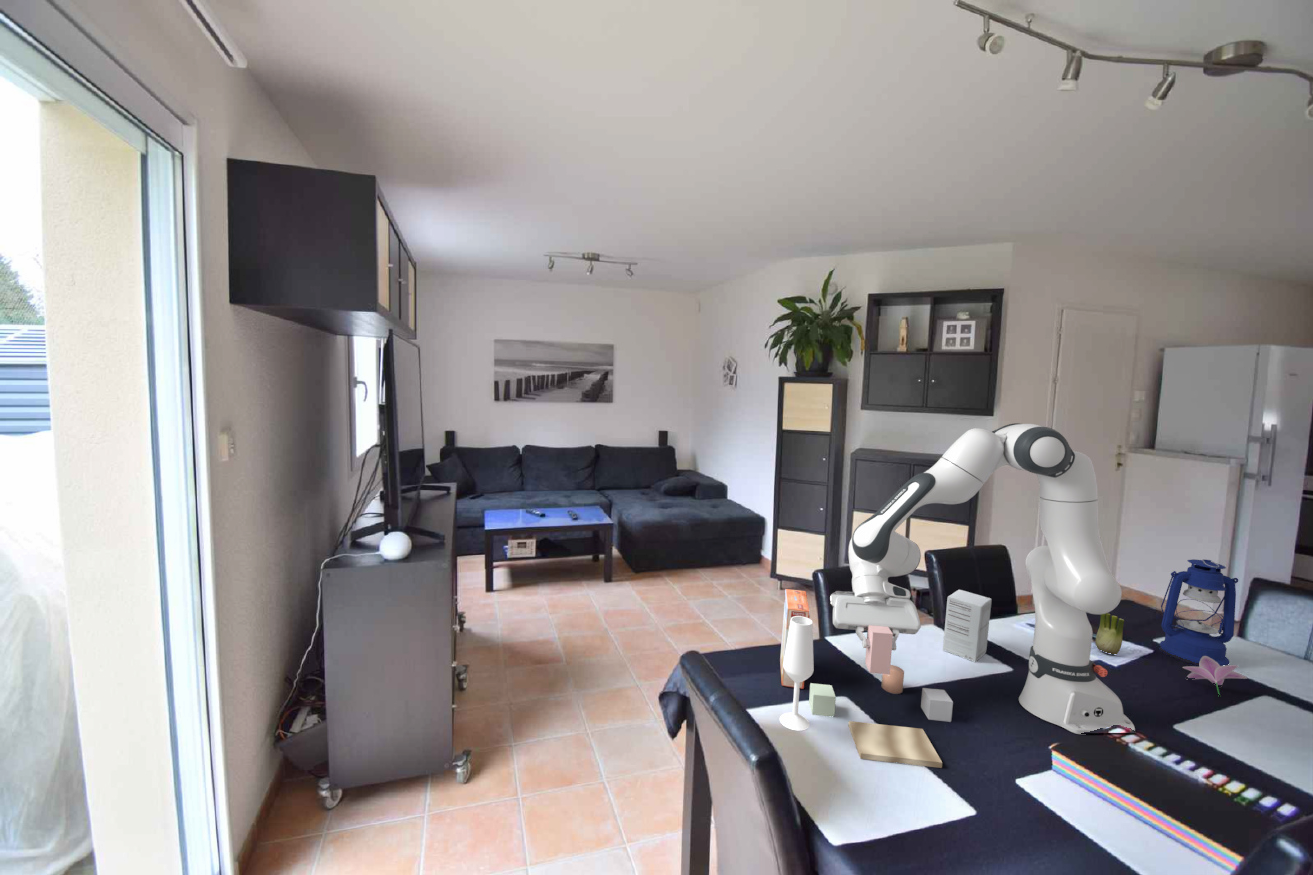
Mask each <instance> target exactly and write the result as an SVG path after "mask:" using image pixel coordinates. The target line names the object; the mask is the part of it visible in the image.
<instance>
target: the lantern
mask: <svg viewBox="0 0 1313 875" xmlns="http://www.w3.org/2000/svg"><path fill="white" fill-rule="evenodd" d="M1187 562H1189V564H1191V566H1189V567H1187V570H1186V571H1185V570H1183V571H1179V572H1177V571H1176V570H1173V571H1172V572H1171V573H1170V576H1171V577H1170V580H1169V583H1168V586H1167V589H1166V592H1165V595H1164V596H1163V600H1162V603H1161V605H1160V607H1161V612H1162V616H1163V617H1162V621H1161V624H1160V626H1161V629H1162V631H1163V632H1164V633H1165V636H1164V640H1161V641H1160V642H1159V646H1161V648H1162V649H1163V650H1165V651H1166V652H1168V653H1170V654H1172V655H1176V656H1178V657H1181V658H1183V659H1187V660H1190V661H1192V662H1195V663H1199V662H1200V659H1201V658H1202V657H1203V656H1208V657H1210V658H1211V659H1213V660H1215V661H1216V662H1217V663H1218V664H1219V665H1220V666H1223V665H1228V664H1229V663H1230V662H1231V661H1230V659H1229V658H1228V657H1227V655H1226V654H1227V647H1226V646H1227V645H1226V643H1228V642H1230V641H1231V640H1232V639H1233V637H1234V635H1235V633H1234V632H1235V620H1236V619H1235V618H1236V616H1235V614H1236V602H1237V601H1236V599H1237V598H1236V597H1237V591H1236V584H1238V583H1239V579H1238V578H1237V577H1233V578H1231V577H1229V576H1227V575H1224V574H1223V573H1222V570H1225V569H1227V567H1226V566H1225V565H1222V564H1220V563H1217V562H1215V561H1213V560H1210V559H1202V560H1201V559H1187ZM1183 583H1184V584H1186V585H1187V589H1184V590H1183V592H1182V595H1183V596H1184V597H1186V598H1183V599H1180V600H1179V598H1180V594H1181V589H1182V587H1183V586H1182V585H1183ZM1219 592H1224V594H1223V597H1222V599H1221V597H1220V596H1218V595H1219ZM1167 594H1168V595H1167ZM1166 598H1167V599H1166ZM1188 599H1190V600H1193V601H1197V602H1200V603H1202V604H1204V605H1206V606H1207V607H1209V609H1211V610H1212V611H1210V610H1208V612H1210V613H1213V614H1211V615H1210V616H1208V617H1207V618H1205V619H1190V620H1187V619H1180V617H1179V615H1178V614H1180V613H1183V612H1187V610H1184V611H1179V612H1178V610H1177V607H1178V605H1179V604H1180V602H1182V601H1185V600H1188ZM1165 600H1166V603H1165ZM1204 602H1205V603H1204ZM1164 603H1165V608H1164ZM1206 603H1210V604H1218V606H1217V607H1216V610H1214V609H1213V608H1212V607H1211V606H1209V605H1208V604H1206ZM1222 604H1223V614H1221V613H1219V612H1218V611H1219V609H1220V607H1221V605H1222ZM1163 608H1164V609H1163ZM1192 611H1194V612H1195V611H1196V612H1197V611H1199V612H1201V611H1202V612H1206V610H1205V609H1203V610H1202V609H1192V610H1191V609H1190V610H1189V612H1192ZM1215 615H1217V616H1218V617H1219V619H1220V621H1218V622H1215V623H1213V624H1211V625H1209V624H1206V623H1203V622H1206V621H1208V620H1210V619H1211V618H1212V617H1213V616H1215ZM1174 619H1175V620H1176V625H1174V624H1173V621H1174ZM1216 624H1219V629H1217V628H1215V627H1214V625H1216ZM1173 627H1175V628H1173ZM1217 634H1219V635H1218V636H1214V635H1217ZM1229 665H1230V664H1229Z"/></svg>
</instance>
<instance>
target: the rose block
mask: <svg viewBox="0 0 1313 875" xmlns="http://www.w3.org/2000/svg"><path fill="white" fill-rule="evenodd" d="M866 633H867V634H866V639H870V648H865V658H864V659H865V661H864V662H865V663H864V664H865V666H866V668H867V670H868V671H869V673H871V674H879V675H882V674H889V675H890V666H891V665H892V664H891V663H892V652H893V650H892V640H893V633H892V632H891V630H890V629H889V627H884V626H871V625H869V626H868V631H867V632H866Z"/></svg>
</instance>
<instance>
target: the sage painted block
mask: <svg viewBox="0 0 1313 875" xmlns="http://www.w3.org/2000/svg"><path fill="white" fill-rule="evenodd" d="M808 698H809V700H808V704H809V708H810V711H811V715H812V716H822V717H829V716H831V718H834V717H835V713H836V712H835V710H836V701H837V698H836V694H835V691H834V688H833V685H830V684H822V683H812V682H810V684H809V696H808ZM832 716H833V717H832Z"/></svg>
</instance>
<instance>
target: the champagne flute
mask: <svg viewBox="0 0 1313 875" xmlns="http://www.w3.org/2000/svg"><path fill="white" fill-rule="evenodd" d="M813 629H814V626H813V620H812V619H811V618H810V617H809V618H806V617H802V616H794V617H792V618H791V620H790V626H789V632H788V638H787V644H786V650H785V656H784V662H783V667H784V670H785V672H786V673H787V675H788V676H789V677H790V678H791V679H792V680H793V681H795V684H794V687H793V700H792V712H785V713H783V714H781V715H780V716H779V722H780V724H782V725H783V727H785V728H787V729H789V730H792V731H798V732H799V731H802V732H803V731H806V730H807V729H809V728H810V721H809V720H808V718H806V717H805V716H804V715H802V714H799V700H800V689H801V688H800V682H803V681H804V682H805V681H806V680H808V679H809V678H810V677H811V676H812V675H813V674H814V668H815V667H814V666H815V665H814V663H815V662H814V630H813Z"/></svg>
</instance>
